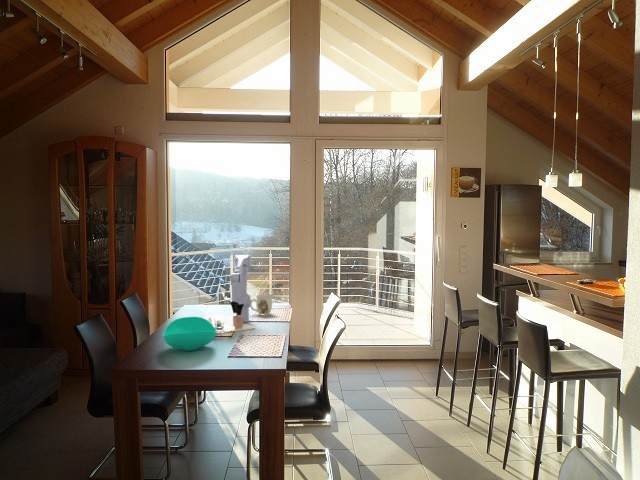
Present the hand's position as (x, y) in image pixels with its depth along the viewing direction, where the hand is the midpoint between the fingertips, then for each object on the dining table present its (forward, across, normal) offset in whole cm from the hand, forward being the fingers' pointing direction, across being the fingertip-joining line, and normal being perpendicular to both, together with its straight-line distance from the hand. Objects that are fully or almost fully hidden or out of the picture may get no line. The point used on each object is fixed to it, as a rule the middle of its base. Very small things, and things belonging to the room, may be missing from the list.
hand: (237, 314), depth 307 cm
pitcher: (+10, +32, -29) cm, 44 cm away
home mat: (+9, 0, 0) cm, 9 cm away
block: (+9, 0, 0) cm, 9 cm away
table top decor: (+9, -31, +36) cm, 49 cm away
